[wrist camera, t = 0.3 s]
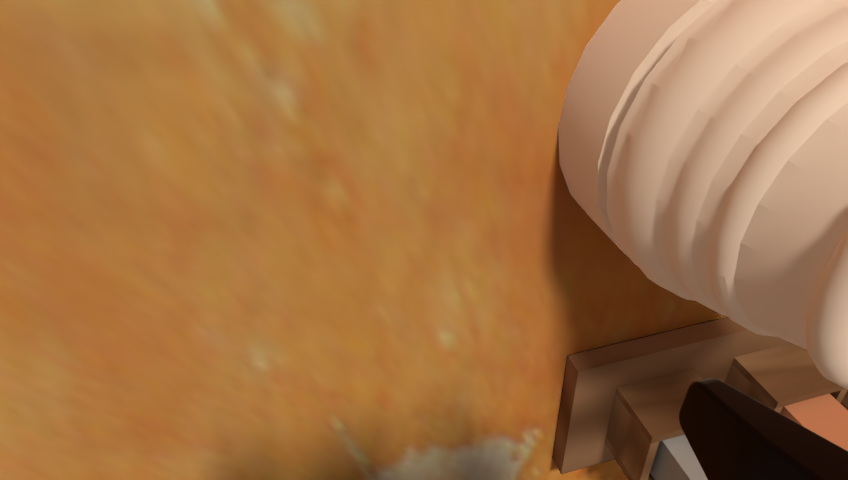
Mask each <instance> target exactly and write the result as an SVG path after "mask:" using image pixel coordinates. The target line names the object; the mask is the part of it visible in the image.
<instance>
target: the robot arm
mask: <svg viewBox="0 0 848 480" xmlns="http://www.w3.org/2000/svg"><path fill="white" fill-rule="evenodd" d="M679 422H680V425H681V428H682V430H683V432H684V434H685V436H686V438H687V440H688V442H689V444H690V446H691V448H692V450H693V452H694V454H695V456H696V458H697V460H698V462H699V464H700V465H701V467H702V469H703V471H704V473H705V475H706V477H707V479H708V480H848V451H847V450H845V449H843V448H841V447H840V446H838V445H836V444H834V443H832V442H831V441H829V440H827V439H825V438H823V437H822V436H820V435H818V434H816V433H814V432H813V431H811V430H809V429H807V428H805V427H804V426H802V425H800V424H798V423H796V422H795V421H793V420H791V419H789V418H787V417H786V416H784V415H782V414H780V413H778V412H777V411H775V410H773V409H771V408H769V407H768V406H766V405H764V404H762V403H760V402H759V401H757V400H755V399H753V398H751V397H750V396H748V395H746V394H744V393H742V392H741V391H739V390H737V389H735V388H733V387H732V386H730V385H728V384H726V383H724V382H723V381H721V380H719V379H716V378H707V379H702V380H698V381H694V382H692V383H691V384H690V385H689V387H688V390H687V392H686V395H685V397H684V400H683V403H682V405H681V408H680V411H679Z"/></svg>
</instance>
